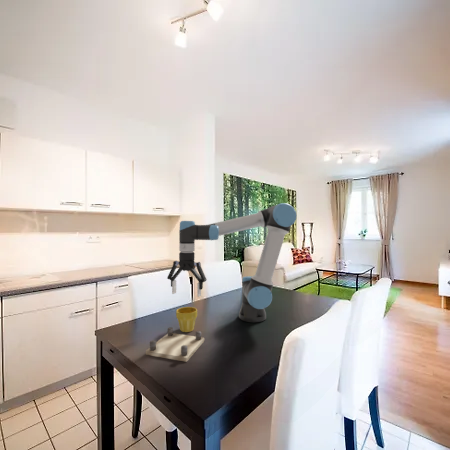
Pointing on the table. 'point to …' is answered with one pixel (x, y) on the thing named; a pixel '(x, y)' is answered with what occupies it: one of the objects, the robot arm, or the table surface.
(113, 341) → the table surface
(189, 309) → the plant pot
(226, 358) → the table surface
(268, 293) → the robot arm
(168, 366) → the table surface
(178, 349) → the stub plate
